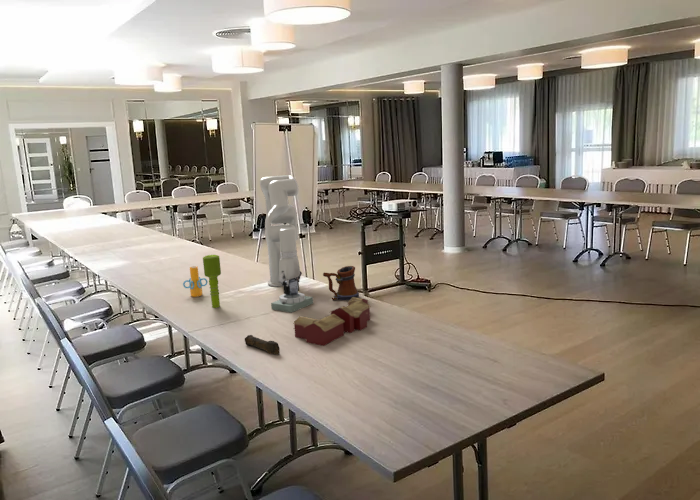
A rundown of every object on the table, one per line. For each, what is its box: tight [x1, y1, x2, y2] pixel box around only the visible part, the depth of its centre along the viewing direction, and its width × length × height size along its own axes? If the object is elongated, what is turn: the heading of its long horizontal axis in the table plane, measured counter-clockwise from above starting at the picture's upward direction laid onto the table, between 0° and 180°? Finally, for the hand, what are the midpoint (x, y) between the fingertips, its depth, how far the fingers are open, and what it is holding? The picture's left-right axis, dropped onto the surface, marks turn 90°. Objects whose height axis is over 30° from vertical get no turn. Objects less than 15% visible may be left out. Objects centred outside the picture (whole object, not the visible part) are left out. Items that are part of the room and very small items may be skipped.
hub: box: [285, 279, 299, 296], centre depth 270 cm, size 6×6×7 cm
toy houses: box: [293, 297, 371, 347], centre depth 240 cm, size 45×20×10 cm, turn 145°
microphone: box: [202, 254, 222, 309], centre depth 275 cm, size 8×8×25 cm
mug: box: [322, 265, 360, 301], centre depth 278 cm, size 18×12×15 cm, turn 122°
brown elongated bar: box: [244, 334, 280, 356], centre depth 217 cm, size 19×4×5 cm, turn 43°
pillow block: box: [270, 292, 314, 313], centre depth 271 cm, size 16×12×5 cm
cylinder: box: [182, 265, 209, 298], centre depth 298 cm, size 12×10×15 cm
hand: (291, 292), depth 270 cm, fingers closed on hub, 6 cm apart
